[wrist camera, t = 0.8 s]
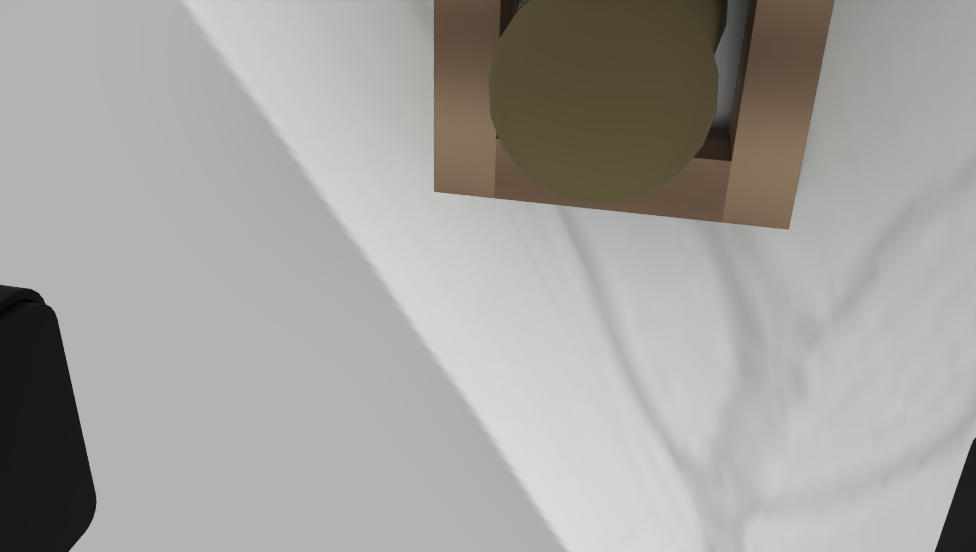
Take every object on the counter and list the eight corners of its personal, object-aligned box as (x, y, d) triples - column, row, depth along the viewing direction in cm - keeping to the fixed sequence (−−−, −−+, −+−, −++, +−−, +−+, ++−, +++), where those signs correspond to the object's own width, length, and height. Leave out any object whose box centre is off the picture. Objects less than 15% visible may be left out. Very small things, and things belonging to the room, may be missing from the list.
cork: (770, 8, 28) (805, 116, 18) (627, 139, 31) (592, 291, 21) (632, -138, 27) (594, -105, 17) (497, 11, 30) (399, 111, 20)
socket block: (459, -194, 27) (434, -194, 25) (852, -182, 25) (870, -180, 23) (455, 160, 32) (434, 191, 30) (781, 192, 30) (788, 229, 28)
